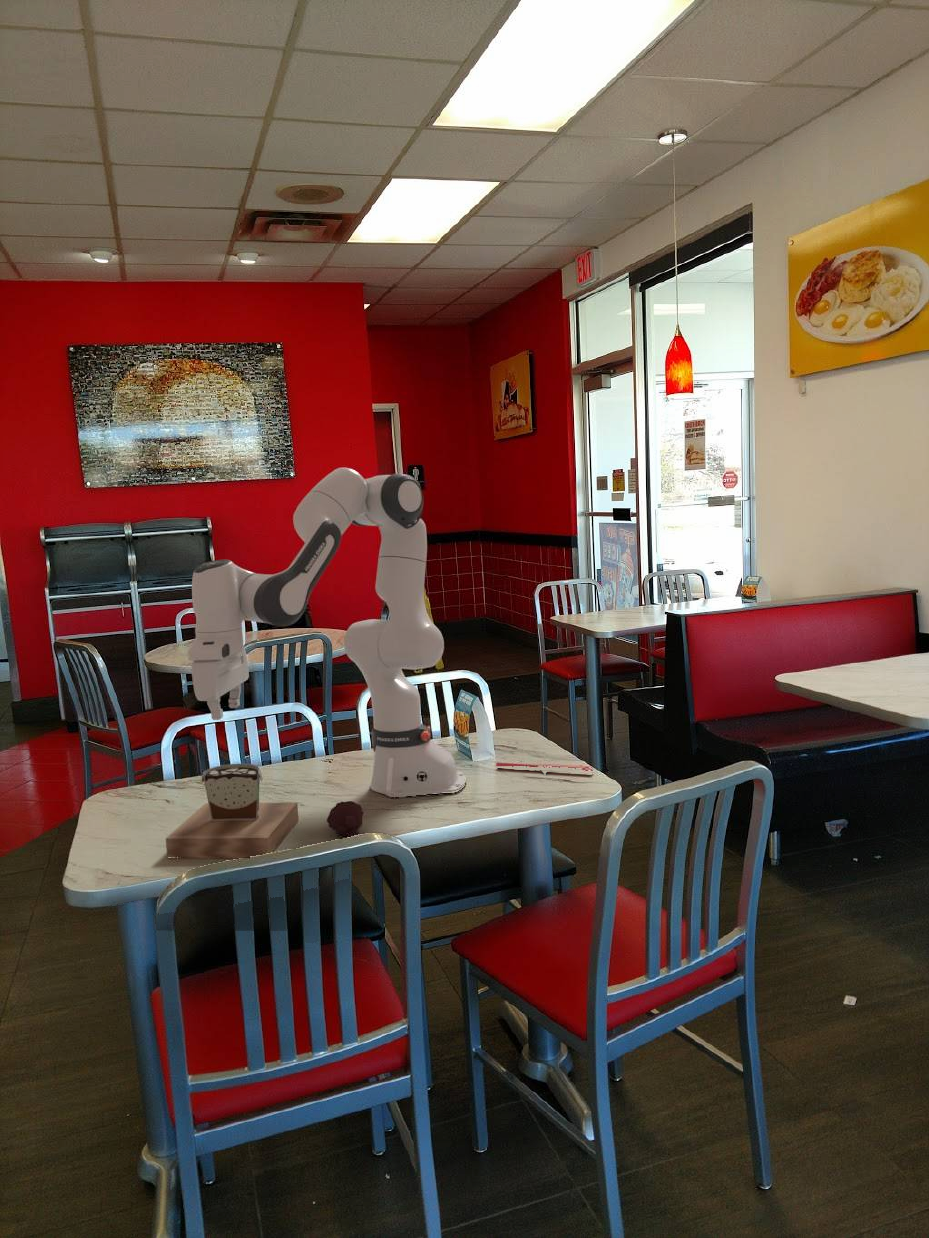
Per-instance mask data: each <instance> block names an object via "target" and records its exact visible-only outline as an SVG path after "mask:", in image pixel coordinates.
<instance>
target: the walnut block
mask: <svg viewBox="0 0 929 1238" xmlns="http://www.w3.org/2000/svg"><path fill="white" fill-rule="evenodd" d="M298 807H299V806H298V802H259V816H258V819H257V820H215V821H212V820H211V815H210V809H209V804H208V802H207V803H204V804H203V805H202V806H201V807H200V808H199V809H197V810H196V811H195V812H194V813H193V814H192V815H191V816H190V817H188V818H187V819H186V820H185V821H183V822H182V823H181V825H179V826H178V827H177V828H175V830H174V831H172V832H171V833H170V834H169V835H168V836H167V837H166V838H165V847H166V857H175V858H177V857H178V858H177V859H245V858H244V857H250V856H256V855H263V854H266V853H271V852H275V851H276V850H277V849H278V848H279V846H280V845H281V844H282V843H283V841H284V840H285V838H286V837H287V836H288V835H289V834H290V832H291V831H292V830H293V828H294V827H296V825H297V823H298V822H299V809H298Z"/></svg>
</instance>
